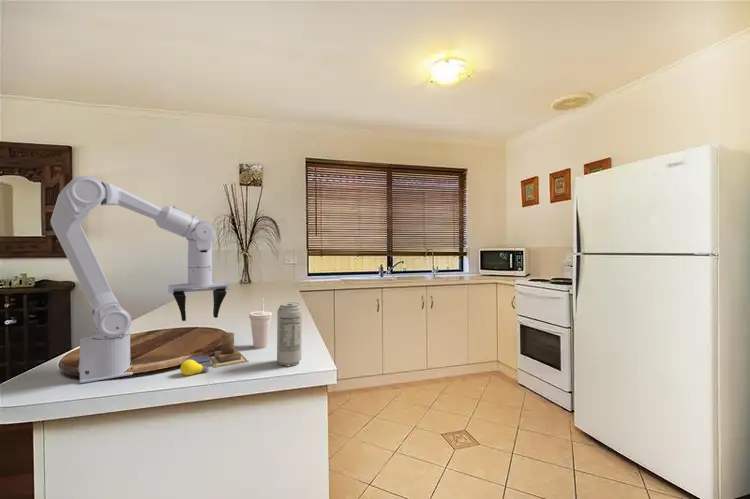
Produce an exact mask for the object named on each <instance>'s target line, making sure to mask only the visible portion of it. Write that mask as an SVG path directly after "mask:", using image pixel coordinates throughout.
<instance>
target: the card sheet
mask: <svg viewBox="0 0 750 499" xmlns="http://www.w3.org/2000/svg"><path fill="white" fill-rule="evenodd" d="M209 358H210V359H211V361H212V362H213V366H212V367H214V368H220V367H225V366H230V365H231V366H232V365H237V364H244V363H248V362H249V360H248V358H246V357H245V356H244V355H243V354H242V353H241V360H235V361H230V362H225V363H220V362H219V361H218V360H217V359H216V358H215V355H214V356H209Z"/></svg>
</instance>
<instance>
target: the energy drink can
mask: <svg viewBox="0 0 750 499" xmlns="http://www.w3.org/2000/svg"><path fill="white" fill-rule="evenodd" d="M276 312H277V319H276V320H277V321H276V322H277V325H276V328H277V330H276V332H277V333H276V334H277V336H276V361H277V362H278V364H279V365H280V366H282V365H286V366H285V367H288V366H287V365H294V364H297V363H298V364H299V363H300V361H301V360H302V342H303V341H302V340H303V339H302V335H303V334H302V332H303V330H302V329H303V328H302V327H303V326H302V324H303V310H302V308H301V306H300V303H299V302H281V303H280V304H279V307H278V309H277V311H276ZM298 364H297V365H298ZM294 366H295V365H294Z"/></svg>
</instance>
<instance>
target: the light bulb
mask: <svg viewBox="0 0 750 499" xmlns="http://www.w3.org/2000/svg"><path fill="white" fill-rule="evenodd" d="M209 369H210V368H209V367H205V366H202V365H201V364H198V363H197V362H196V361H194V360H186V361H183V362H182V363H181V365H180V372H181V374H182V375H184V376H192V375H193V376H194V375H195V374H200V373H205V374H206V373H207V372H209Z"/></svg>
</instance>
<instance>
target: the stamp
mask: <svg viewBox="0 0 750 499" xmlns="http://www.w3.org/2000/svg"><path fill="white" fill-rule="evenodd" d="M241 354H242V353H241V352H239V350H237V349H236V348H235V333H234V332H224V333H221V350H217V351H214V356H215V358H216V359H217V360H218V361H219V362H220V363H225V362H230V361H235V360H241Z"/></svg>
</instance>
